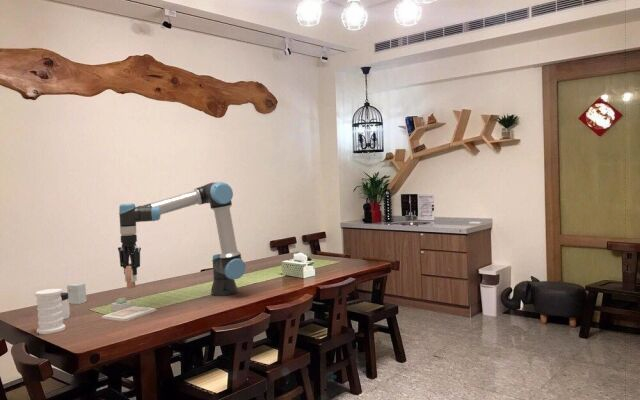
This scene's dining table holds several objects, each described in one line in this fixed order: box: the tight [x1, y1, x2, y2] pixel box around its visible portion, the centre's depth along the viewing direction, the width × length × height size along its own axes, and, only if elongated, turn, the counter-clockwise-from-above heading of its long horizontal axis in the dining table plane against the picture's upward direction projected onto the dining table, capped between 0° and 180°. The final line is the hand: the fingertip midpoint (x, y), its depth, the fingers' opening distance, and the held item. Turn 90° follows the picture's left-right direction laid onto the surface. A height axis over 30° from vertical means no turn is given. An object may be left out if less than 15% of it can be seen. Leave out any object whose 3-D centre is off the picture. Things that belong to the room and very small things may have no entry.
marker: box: [126, 262, 136, 289], centre depth 252 cm, size 4×4×12 cm
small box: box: [66, 282, 87, 305], centre depth 284 cm, size 8×6×10 cm
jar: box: [61, 292, 71, 320], centre depth 251 cm, size 9×8×12 cm
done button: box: [116, 297, 127, 304], centre depth 265 cm, size 4×4×4 cm
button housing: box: [110, 300, 133, 312], centre depth 265 cm, size 7×7×4 cm
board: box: [101, 305, 157, 322], centre depth 253 cm, size 16×20×1 cm
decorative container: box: [34, 288, 66, 335], centre depth 230 cm, size 12×12×18 cm
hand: (130, 281), depth 252 cm, fingers closed on marker, 3 cm apart
